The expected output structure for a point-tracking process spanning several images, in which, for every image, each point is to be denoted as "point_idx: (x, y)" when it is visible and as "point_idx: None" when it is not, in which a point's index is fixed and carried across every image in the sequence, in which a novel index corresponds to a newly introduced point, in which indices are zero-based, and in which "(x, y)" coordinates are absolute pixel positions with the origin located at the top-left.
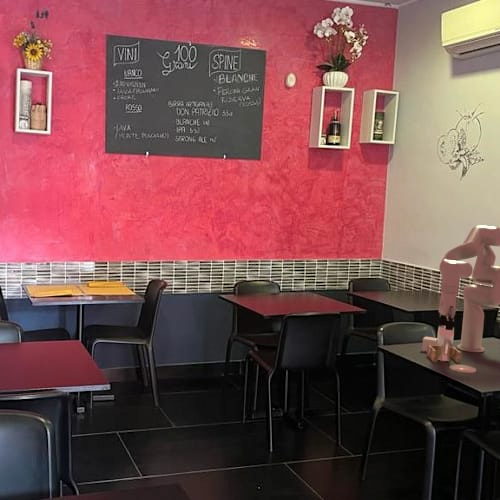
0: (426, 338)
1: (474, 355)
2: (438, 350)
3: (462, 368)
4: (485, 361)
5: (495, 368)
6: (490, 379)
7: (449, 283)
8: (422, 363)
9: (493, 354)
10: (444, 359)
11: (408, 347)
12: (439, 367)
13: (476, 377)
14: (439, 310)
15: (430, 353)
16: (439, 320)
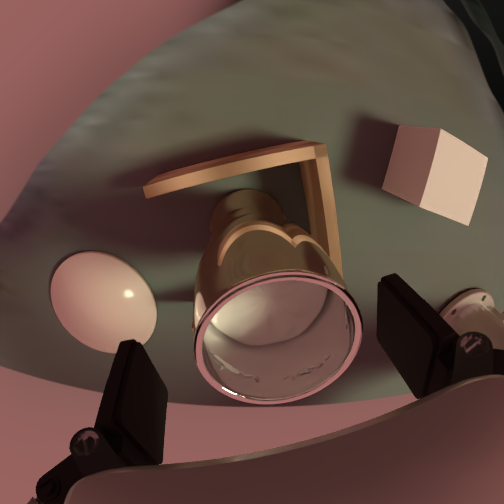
0: (452, 154)
1: None
2: (240, 208)
3: (92, 306)
4: None
5: (204, 405)
6: (45, 370)
7: None
8: (106, 116)
9: (405, 390)
10: (210, 233)
11: (437, 72)
12: (73, 205)
13: (33, 336)
14: (454, 431)
15: (243, 155)
16: (423, 300)
